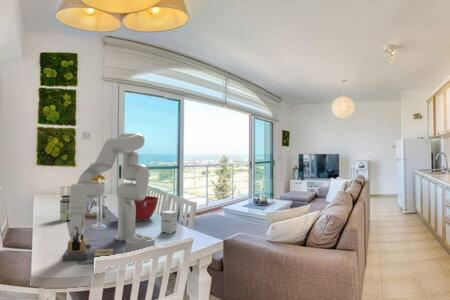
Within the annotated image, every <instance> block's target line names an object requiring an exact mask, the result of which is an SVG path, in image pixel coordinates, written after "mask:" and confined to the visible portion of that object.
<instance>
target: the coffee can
mask: <svg viewBox="0 0 450 300" xmlns="http://www.w3.org/2000/svg"><path fill="white" fill-rule="evenodd" d="M59 202H60V204H59V207H60V210H59V221H60V220H62V221H61V222H67V221H66V220H71V215H70V214H69V212H70V198H66V199H64V198H63V199H60V200H59Z"/></svg>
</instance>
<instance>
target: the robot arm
mask: <svg viewBox="0 0 450 300" xmlns="http://www.w3.org/2000/svg"><path fill="white" fill-rule="evenodd" d="M144 145H145V137H144V135H143V134H141V133H138V132H137V133H127V132H126V133H120V134H118V135H117V136H116V137H110V138H108V139H106V140H105V142H104V144H103V146H102V148H101V150H100V151H99V154H98V155H97V158H96V159H95V161H94V162H93V163H91V164H90V165H89V166H88V167H87V168H86V169H85V170H84V171H83V172H82V173H81V175H80V176H79V178H78V180H77V183H74V184H71V185H70V187H69V199H70V212H69V214H70V215H71V221H69V222H70V225H69V236H70V237H72V238H73V239H72V251H77V250H80V241H79V239H80V236H81V237H84V232H85V226H86V225H85V223H86V218H85V215H86V214H88V199H97V198H100V197H101V196H103V195H104V193H105V187H104V185H103V184H102V183H100V182H96V181H95V182H94V181H93V180H94V179H95V178H96V177H97V176H99V175H101V174H103V173H105V172H108V171H110V170H111V169H112V168H113V166H114V163H115V161H116V159H117V157H118V155H122V156H123V158H122V170H121V177H122V179H123V180H125V181H131V182H123V183H120V184H119V185H118V186H117V188H116V196H117V203H118V205H117V209H118V210H117V211H118V213H117V234H116V235H115V236H114V240H116V241H120V242H126V240H128V239H130V238H131V237H132V236H135V235H137V233H136V221H135V219H136V206H135V203H134V200H137V201H141V200H143V199H145V197H146V196H148V187H149V181H150V180H149V179H150V171H149V168H148V167H147V166H146V165H145V164H139V158H140V157H139V152H138V150H139V149H141V148H143V147H144ZM133 181H134V182H135V183H134V182H133ZM77 234H79V235H77ZM77 237H78V238H77Z"/></svg>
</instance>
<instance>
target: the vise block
mask: <svg viewBox="0 0 450 300" xmlns="http://www.w3.org/2000/svg"><path fill="white" fill-rule="evenodd" d="M77 235H79V234H77ZM77 238H78V237H77ZM80 240H81V236H80V239H79V241H80ZM91 252H92V242H87V248H86V250H85V252H76V253H68V248H67V249H66V250H65V251H64V253H63V254H62V262H63V263H66V262H77V261H88V259H89V257H90V255H91Z"/></svg>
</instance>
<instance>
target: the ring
mask: <svg viewBox="0 0 450 300" xmlns="http://www.w3.org/2000/svg"><path fill="white" fill-rule="evenodd" d="M72 239H73V237H71V238H70V239H69V240H68V241H67V249H68V253H76V252H85V250H86V248H87V243H88V236H83V237H81V240H80V250H77V251H72Z"/></svg>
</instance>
